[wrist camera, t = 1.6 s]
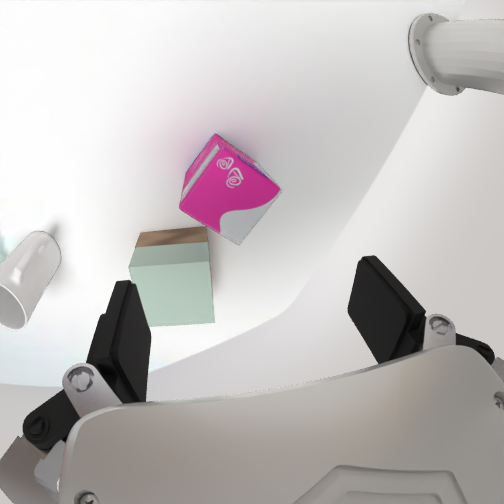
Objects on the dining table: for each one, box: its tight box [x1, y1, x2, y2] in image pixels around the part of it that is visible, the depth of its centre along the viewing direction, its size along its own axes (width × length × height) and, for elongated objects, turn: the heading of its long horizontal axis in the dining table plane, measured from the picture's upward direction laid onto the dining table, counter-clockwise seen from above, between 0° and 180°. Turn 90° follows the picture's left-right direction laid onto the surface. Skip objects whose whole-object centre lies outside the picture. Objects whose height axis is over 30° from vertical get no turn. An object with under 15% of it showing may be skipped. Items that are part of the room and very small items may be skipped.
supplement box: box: [179, 134, 282, 245], centre depth 26 cm, size 6×6×12 cm
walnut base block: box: [135, 226, 213, 296], centre depth 34 cm, size 8×8×4 cm
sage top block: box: [129, 242, 215, 327], centre depth 30 cm, size 8×8×4 cm
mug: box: [0, 231, 61, 331], centre depth 26 cm, size 10×7×12 cm, turn 133°
